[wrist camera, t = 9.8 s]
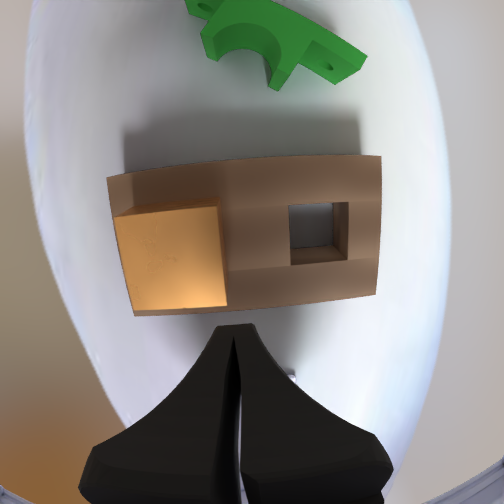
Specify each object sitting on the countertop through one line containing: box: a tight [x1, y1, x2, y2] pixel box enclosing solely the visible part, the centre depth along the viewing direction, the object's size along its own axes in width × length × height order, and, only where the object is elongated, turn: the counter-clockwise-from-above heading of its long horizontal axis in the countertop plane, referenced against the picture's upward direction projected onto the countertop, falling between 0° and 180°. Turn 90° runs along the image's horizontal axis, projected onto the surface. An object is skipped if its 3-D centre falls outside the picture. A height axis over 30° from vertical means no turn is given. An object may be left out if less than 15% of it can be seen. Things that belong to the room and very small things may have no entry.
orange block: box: [114, 197, 228, 310], centre depth 17 cm, size 5×5×6 cm
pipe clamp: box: [185, 0, 367, 91], centre depth 14 cm, size 11×4×5 cm, turn 61°
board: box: [107, 155, 382, 316], centre depth 18 cm, size 9×16×3 cm, turn 94°
